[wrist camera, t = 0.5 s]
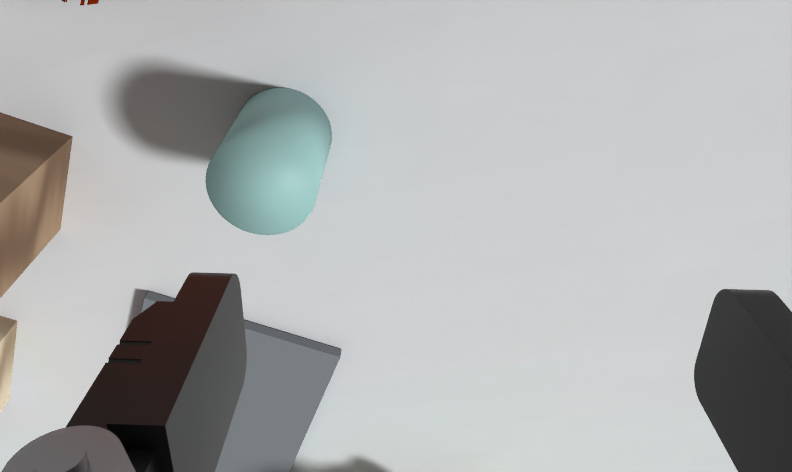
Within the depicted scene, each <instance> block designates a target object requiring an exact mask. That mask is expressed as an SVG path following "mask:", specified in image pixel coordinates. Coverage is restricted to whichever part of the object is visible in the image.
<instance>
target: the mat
mask: <svg viewBox="0 0 792 472" xmlns="http://www.w3.org/2000/svg"><path fill="white" fill-rule="evenodd" d="M174 300H175V299H174V298H170V297H167V296H164V295H160V294H157V293H154V292H150V291H148V293H147V295H146V296H145V298H144V302H143V307H142V311H141V313H142V312H143V311H145V310H146V309H147V308H149V307H150V306H151V305H153V304H154V303H155V302H157V301H170V302H174ZM244 328H245V337H246V348H247V364H246V373H245V379H244V384H243V387H242V390H241V393H240V396H239V400H238V403H237V406H236V409H235V412H234V415H233V418H232V421H231V424H230V427H229V430H228V433H227V436H226V439H225V442H224V445H223V448H222V452H221V455H220V458H219V461H218V464H217V467H216V470H215V472H289V471H290V469H291V467H292V464H293V462H294V460H295V458H296V455H297V453H298V451H299V449H300V446H301V444H302V442H303V440H304V437H305V435H306V433H307V431H308V428H309V426H310V424H311V422H312V419H313V417H314V415H315V413H316V410H317V408H318V406H319V404H320V401H321V399H322V397H323V395H324V392H325V390H326V388H327V386H328V383H329V381H330V379H331V377H332V374H333V372H334V370H335V368H336V366H337V363H338V361H339V359H340V355H341V349H339V348H336V347H332V346H329V345H326V344H322V343H319V342H316V341H312V340H309V339H306V338H302V337H299V336H296V335H293V334H289V333H286V332H283V331H279V330H276V329H273V328H269V327H266V326H263V325H260V324H256V323H253V322H250V321H246V320H244Z"/></svg>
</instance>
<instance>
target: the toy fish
mask: <svg viewBox="0 0 792 472" xmlns="http://www.w3.org/2000/svg"><path fill="white" fill-rule="evenodd" d="M62 1H64V2H65V0H62ZM84 1H85V0H81V4H80V5H84ZM66 2H67V0H66ZM96 3H98V0H88V3H87V5H89V4H96Z"/></svg>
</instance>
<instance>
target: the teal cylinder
mask: <svg viewBox="0 0 792 472" xmlns="http://www.w3.org/2000/svg"><path fill="white" fill-rule="evenodd" d="M331 140H332V132H331V126H330V123H329V120H328V118H327V115H326V114H325V112H324V110H323V109H322V108H321V107H320V105H319V104H318V103H317V102H316V101H315V100H313V99H312V98H311V97H309V96H307V95H306V94H304V93H302V92H300V91H297V90H294V89H289V88H271V89H266V90H264V91H261V92H259V93H257V94H255V95H254V96H253V97H251V98H250V99H249V100H248V101H247V102H246V104H245V105H244V106H243V108H242V110H241V111H240V113H239V115H238V116H237V118H236V119H235V121H234V123H233V124H232V126H231V128H230V129H229V131H228V133H227V134H226V136H225V138H224V139H223V141H222V142H221V144H220V146H219V147H218V149H217V151H216V152H215V154H214V156H213V157H212V159H211V161H210V163H209V165H208V168H207V172H206V188H207V192H208V195H209V198H210V200H211V202H212V204H213V206H214V207H215V209H216V210H217V211H218V213H219V214H220V215H221V216H222V217H223V218H224V219H226V220H227V221H228V222H229V223H231V224H232V225H234V226H236V227H238V228H240V229H242V230H244V231H247V232H250V233H254V234H260V235H276V234H281V233H285V232H288V231H290V230H292V229H294V228H296V227H297V226H299V225H300V224H301V223H303V222H304V221H305V220H306V219H307V217H308V216H309V215H310V213H311V211H312V209H313V207H314V204H315V201H316V197H317V193H318V190H319V186H320V182H321V179H322V175H323V171H324V167H325V164H326V160H327V156H328V153H329V149H330V145H331Z"/></svg>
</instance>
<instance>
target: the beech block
mask: <svg viewBox="0 0 792 472" xmlns="http://www.w3.org/2000/svg"><path fill="white" fill-rule="evenodd" d="M16 328H17V321H16V320H12V319H9V318H5V317H2V316H0V412H1V411H2V409H3V408H4V407H5V405H6V404H7V402H8V401H9V399H10V389H11V379H12V369H13V359H14V349H15V339H16Z"/></svg>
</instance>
